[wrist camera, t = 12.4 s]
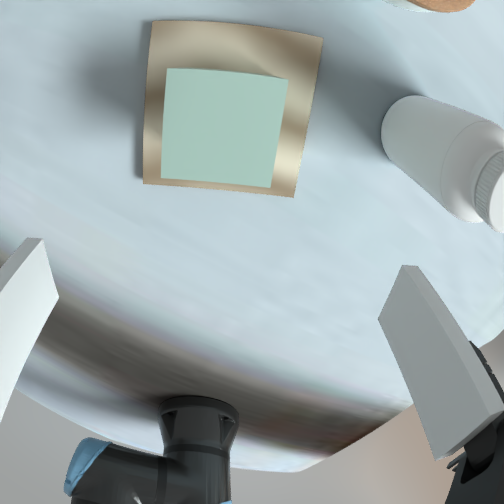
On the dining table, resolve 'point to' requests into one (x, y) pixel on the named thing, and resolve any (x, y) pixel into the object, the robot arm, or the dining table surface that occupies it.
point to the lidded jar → (431, 5)
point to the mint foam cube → (221, 125)
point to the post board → (236, 59)
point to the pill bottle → (449, 156)
